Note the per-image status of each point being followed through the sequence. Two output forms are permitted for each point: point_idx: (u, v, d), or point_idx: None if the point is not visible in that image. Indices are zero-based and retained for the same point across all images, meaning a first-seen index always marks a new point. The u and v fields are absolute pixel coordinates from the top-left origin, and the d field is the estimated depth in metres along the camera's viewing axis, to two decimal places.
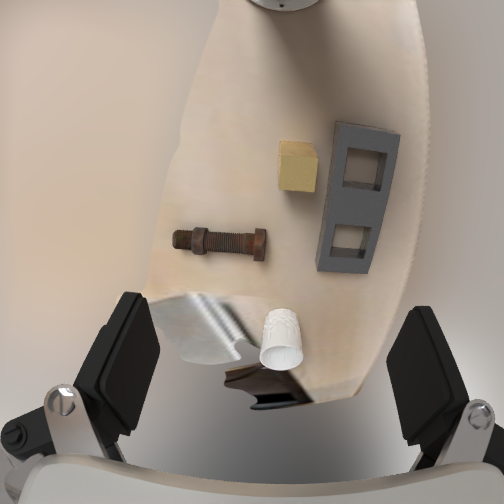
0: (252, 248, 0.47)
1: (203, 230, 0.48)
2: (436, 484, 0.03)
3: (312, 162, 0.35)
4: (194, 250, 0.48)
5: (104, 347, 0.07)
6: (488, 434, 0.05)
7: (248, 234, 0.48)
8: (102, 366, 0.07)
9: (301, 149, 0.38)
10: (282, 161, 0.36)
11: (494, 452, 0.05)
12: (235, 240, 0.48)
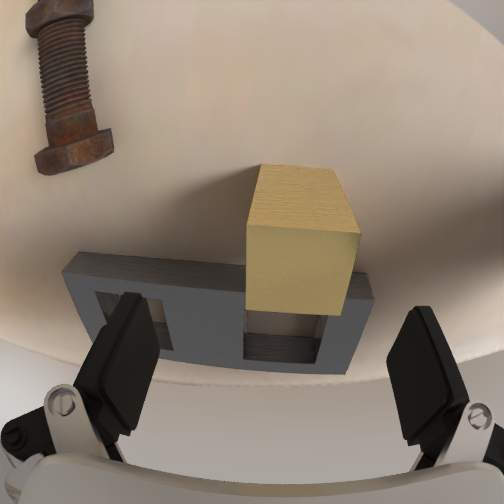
0: (60, 141, 0.14)
1: (84, 11, 0.11)
2: (436, 484, 0.03)
3: (330, 304, 0.14)
4: (32, 10, 0.09)
5: (104, 347, 0.07)
6: (488, 434, 0.05)
7: (92, 118, 0.15)
8: (102, 366, 0.07)
9: None
10: (340, 236, 0.12)
11: (494, 452, 0.05)
12: (69, 93, 0.13)
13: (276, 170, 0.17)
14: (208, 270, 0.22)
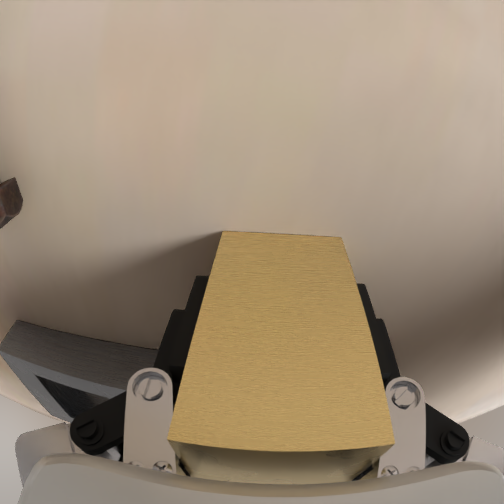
0: None
1: None
2: (436, 484, 0.03)
3: None
4: None
5: (189, 327, 0.08)
6: (422, 408, 0.06)
7: None
8: None
9: None
10: (355, 451, 0.05)
11: (427, 450, 0.06)
12: None
13: (245, 248, 0.11)
14: None
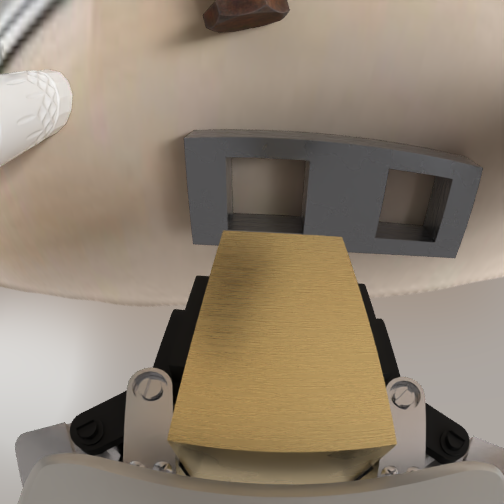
0: None
1: None
2: (436, 484, 0.03)
3: None
4: None
5: (189, 327, 0.08)
6: (422, 408, 0.06)
7: None
8: None
9: None
10: (356, 452, 0.05)
11: (427, 450, 0.06)
12: None
13: (246, 247, 0.11)
14: (350, 138, 0.21)
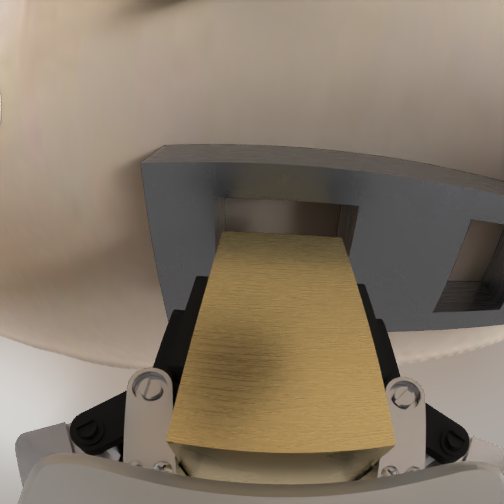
0: None
1: None
2: (436, 484, 0.03)
3: None
4: None
5: (189, 328, 0.08)
6: (422, 408, 0.06)
7: None
8: None
9: None
10: (355, 453, 0.05)
11: (427, 450, 0.06)
12: None
13: (245, 248, 0.11)
14: (415, 166, 0.13)
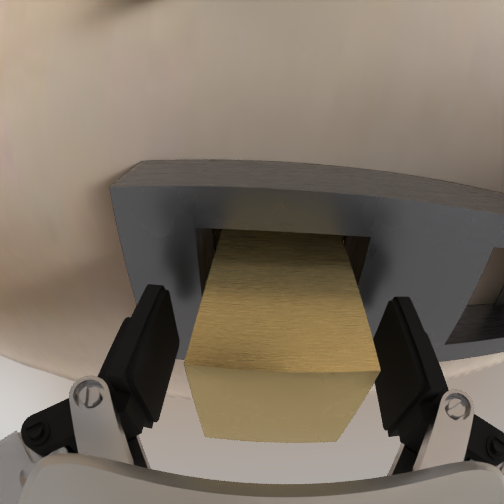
0: None
1: None
2: (436, 484, 0.03)
3: (323, 435, 0.08)
4: None
5: (131, 338, 0.08)
6: (469, 423, 0.06)
7: None
8: (130, 356, 0.07)
9: None
10: (346, 377, 0.06)
11: (474, 448, 0.05)
12: None
13: None
14: (433, 185, 0.11)
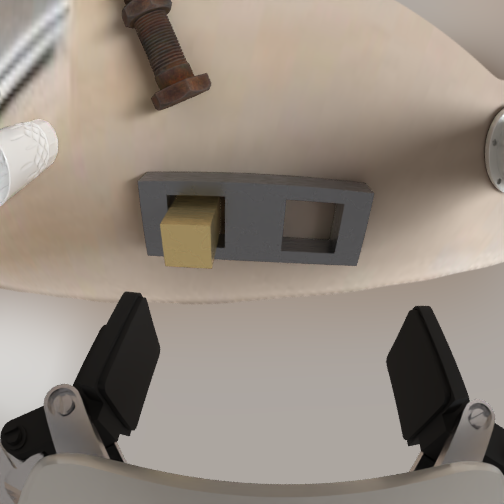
0: (174, 81, 0.23)
1: (168, 5, 0.20)
2: (436, 484, 0.03)
3: (205, 262, 0.28)
4: (131, 5, 0.18)
5: (104, 347, 0.07)
6: (488, 434, 0.05)
7: (190, 68, 0.24)
8: (102, 366, 0.07)
9: (216, 232, 0.30)
10: (201, 227, 0.26)
11: (494, 452, 0.05)
12: (174, 52, 0.22)
13: None
14: (258, 176, 0.31)
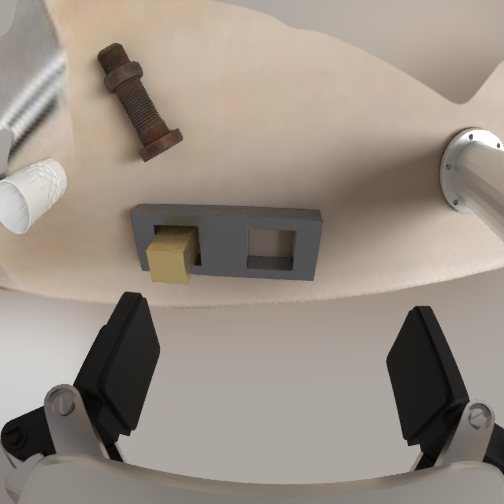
0: (152, 139, 0.31)
1: (139, 72, 0.28)
2: (436, 484, 0.03)
3: (181, 279, 0.36)
4: (109, 77, 0.26)
5: (104, 347, 0.07)
6: (488, 434, 0.05)
7: (165, 125, 0.32)
8: (102, 366, 0.07)
9: (192, 255, 0.38)
10: (176, 254, 0.34)
11: (494, 452, 0.05)
12: (149, 114, 0.30)
13: None
14: (226, 208, 0.38)
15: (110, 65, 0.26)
